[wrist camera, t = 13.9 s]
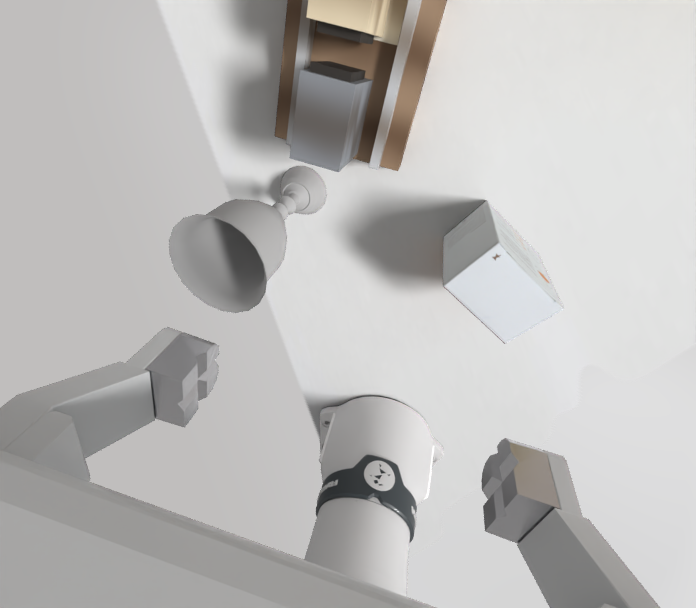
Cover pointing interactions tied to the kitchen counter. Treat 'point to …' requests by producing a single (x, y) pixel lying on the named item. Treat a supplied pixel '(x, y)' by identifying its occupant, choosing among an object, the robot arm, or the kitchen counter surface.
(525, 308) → the small box
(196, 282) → the chalice
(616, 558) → the robot arm
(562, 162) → the kitchen counter surface
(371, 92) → the rail board
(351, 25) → the birch finger
